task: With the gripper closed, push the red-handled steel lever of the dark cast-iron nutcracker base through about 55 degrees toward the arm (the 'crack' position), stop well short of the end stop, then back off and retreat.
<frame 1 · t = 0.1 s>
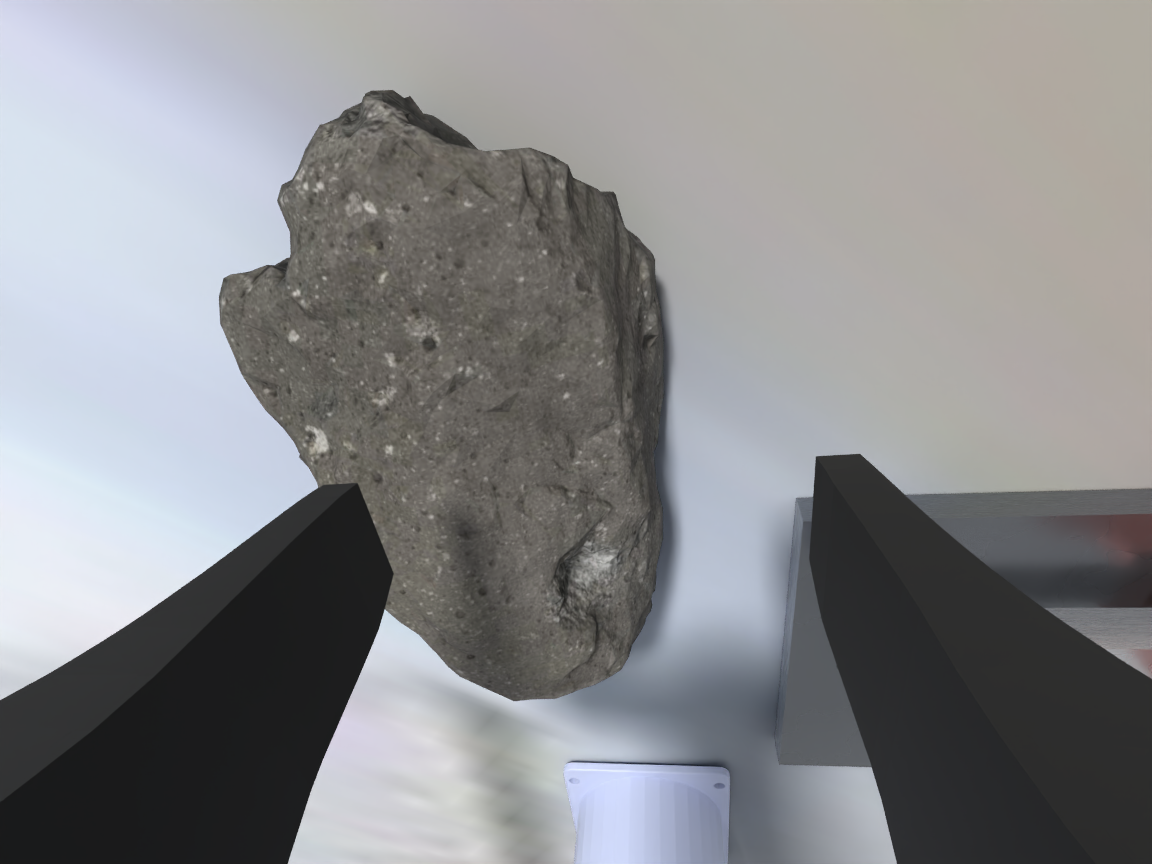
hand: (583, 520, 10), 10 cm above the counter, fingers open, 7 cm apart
stone: (547, 380, 21), on the counter
cracker base: (972, 636, 25), on the counter
lever: (1098, 684, 20), point 4 cm above the counter, hinge at 0.0°
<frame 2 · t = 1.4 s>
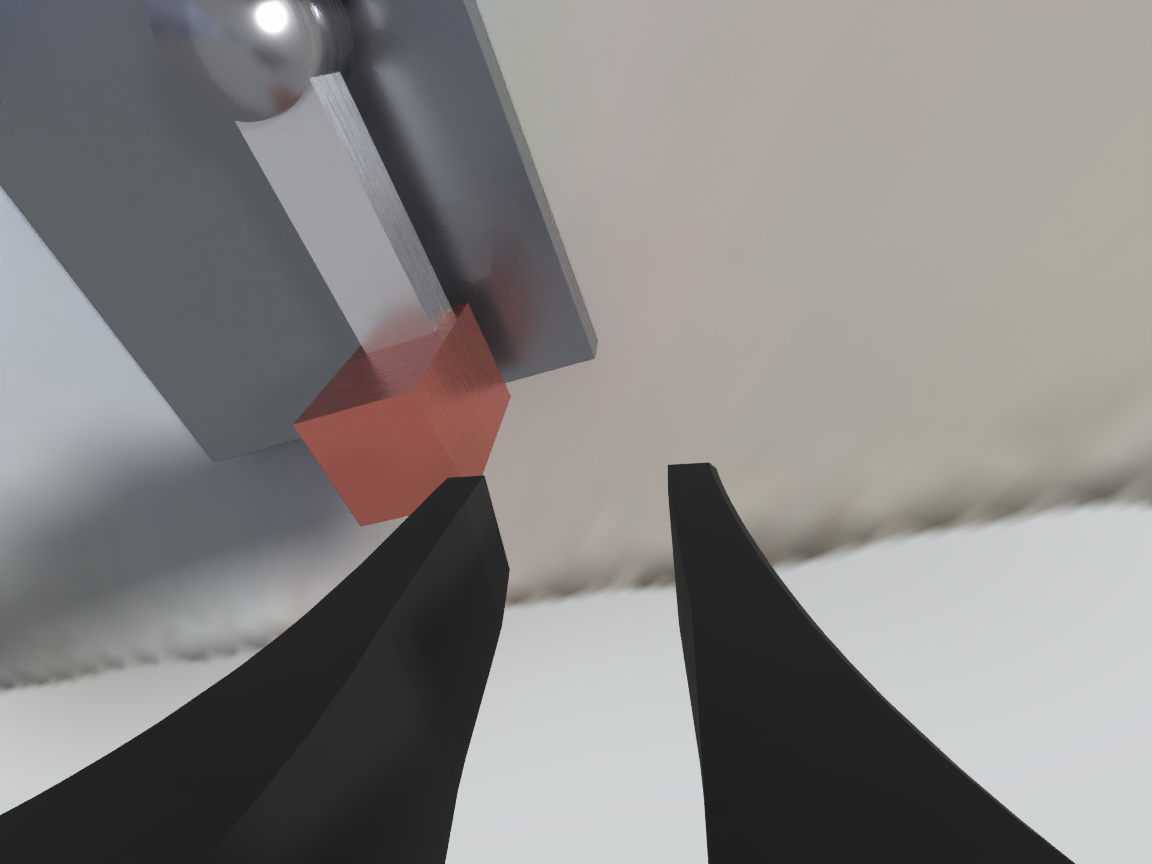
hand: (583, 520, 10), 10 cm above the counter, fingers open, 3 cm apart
cracker base: (285, 189, 18), on the counter
lever: (336, 245, 15), point 4 cm above the counter, hinge at 0.0°
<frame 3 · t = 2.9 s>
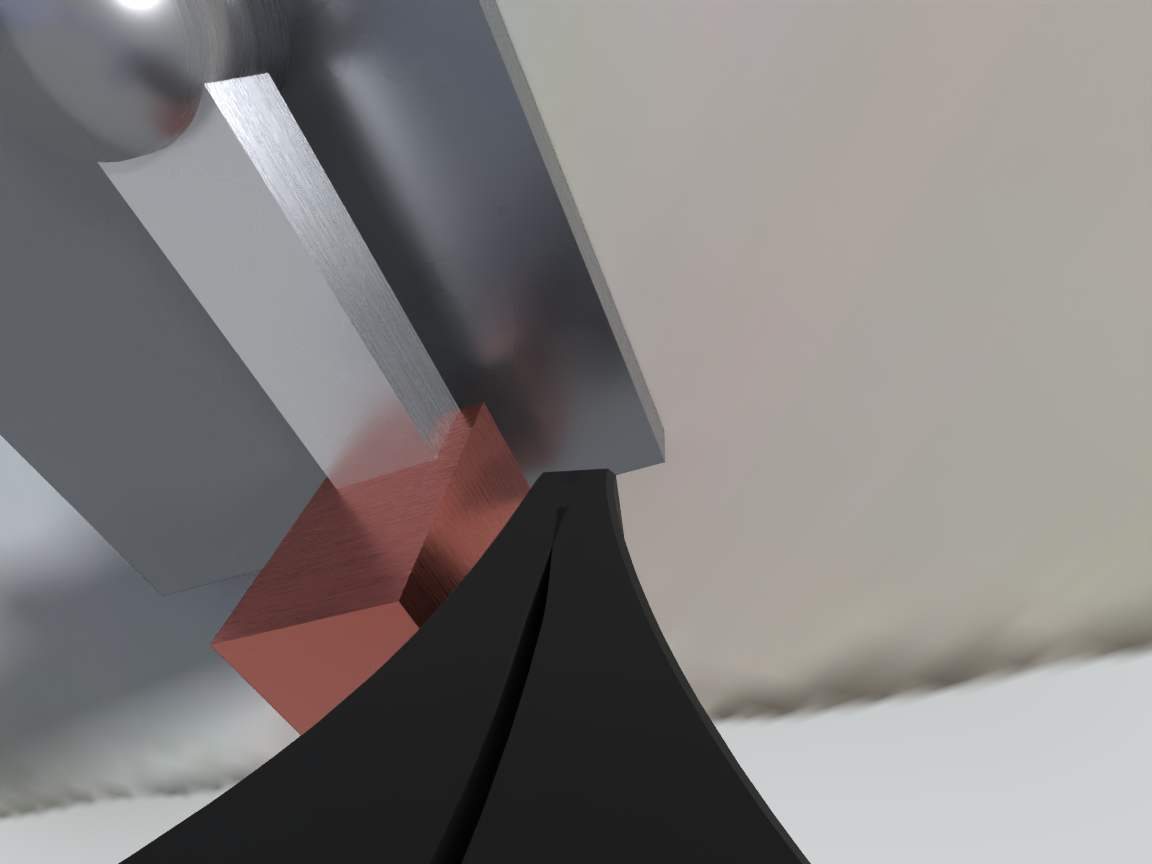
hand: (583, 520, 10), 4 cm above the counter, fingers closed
cracker base: (221, 247, 13), on the counter
lever: (273, 347, 9), point 4 cm above the counter, hinge at 0.0°, touching gripper
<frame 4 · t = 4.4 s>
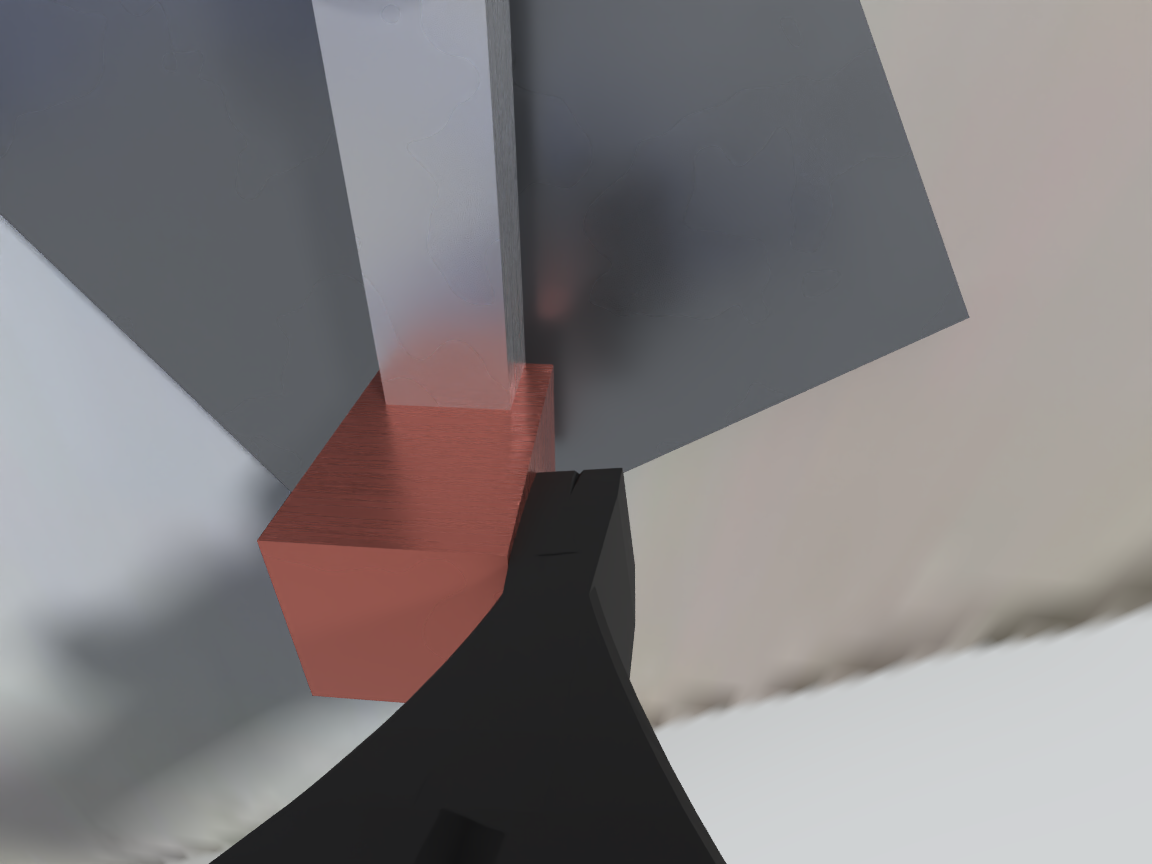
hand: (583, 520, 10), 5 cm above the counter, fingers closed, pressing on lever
cracker base: (433, 165, 12), on the counter
lever: (415, 244, 8), point 4 cm above the counter, hinge at 32.7°, touching gripper
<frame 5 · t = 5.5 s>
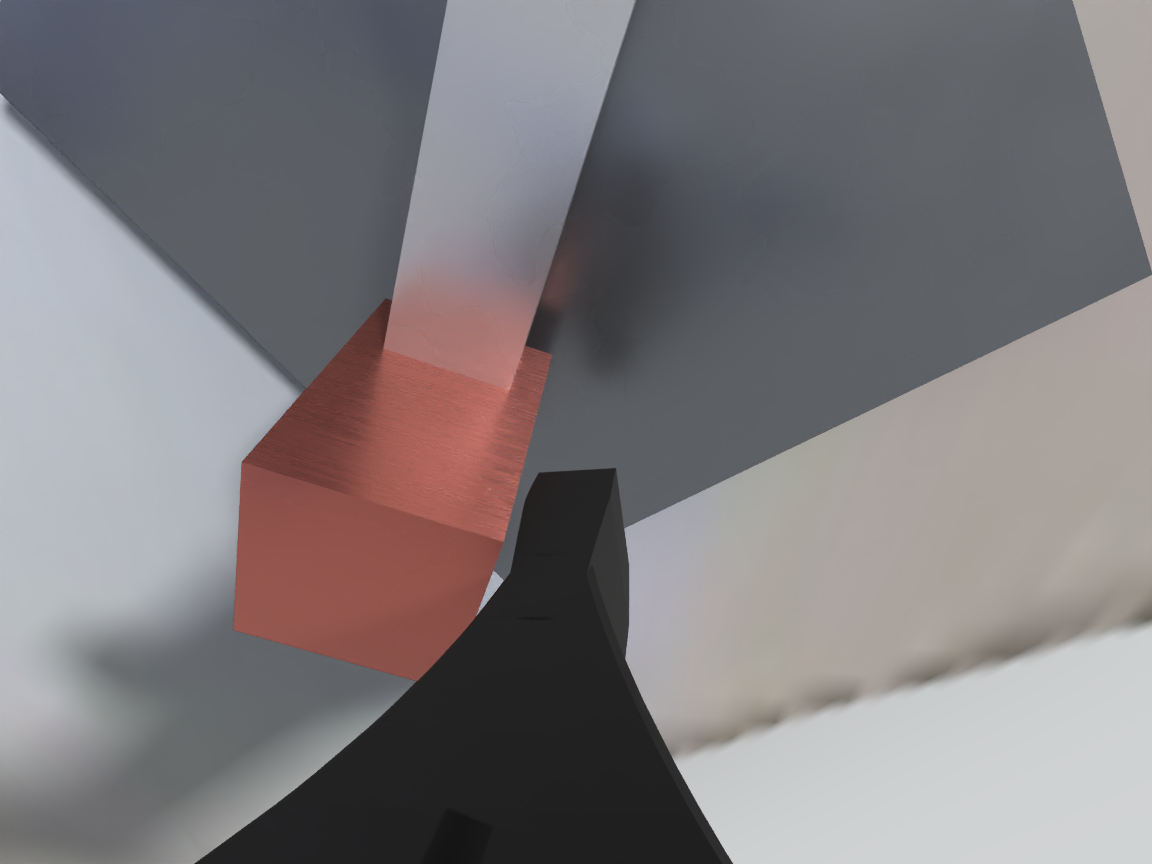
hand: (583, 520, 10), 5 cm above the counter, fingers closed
cracker base: (571, 153, 12), on the counter
lever: (483, 204, 8), point 4 cm above the counter, hinge at 54.7°, touching gripper
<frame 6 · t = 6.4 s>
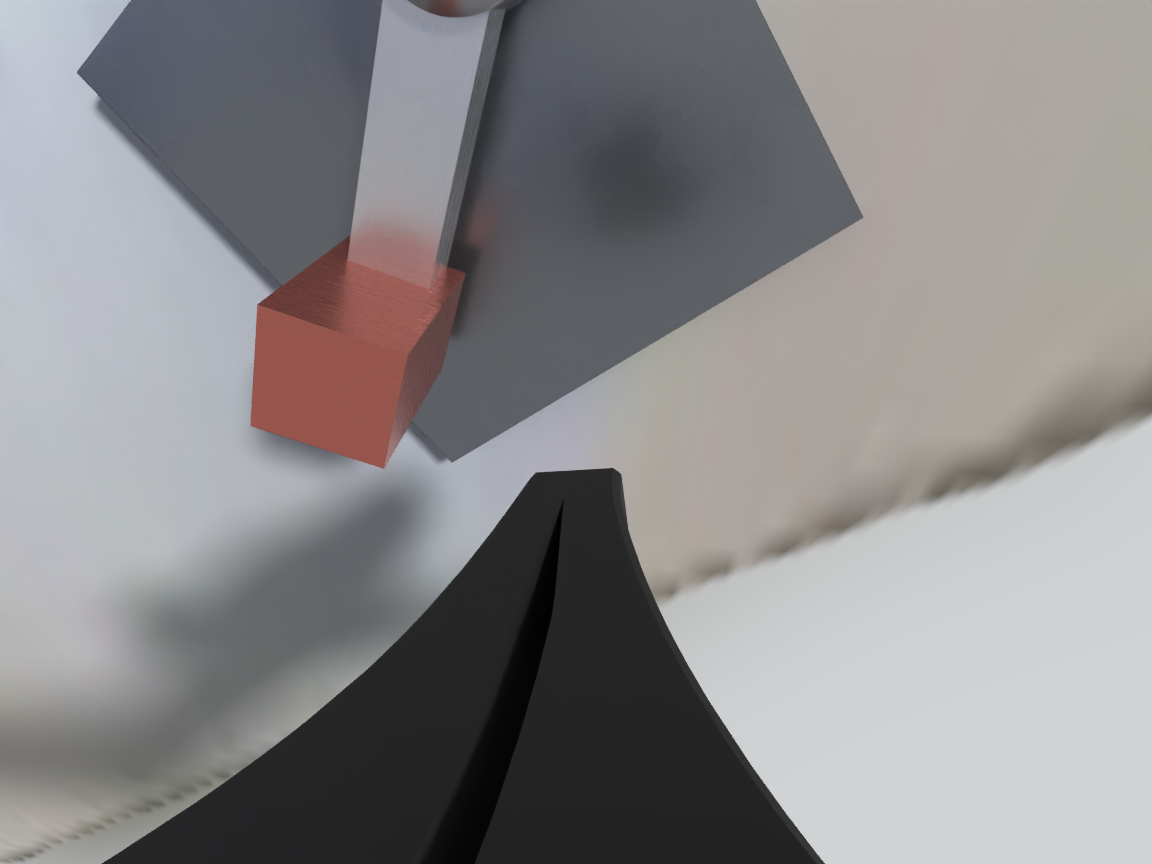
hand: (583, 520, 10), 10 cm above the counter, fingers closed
cracker base: (481, 137, 17), on the counter
lever: (401, 162, 13), point 4 cm above the counter, hinge at 54.8°
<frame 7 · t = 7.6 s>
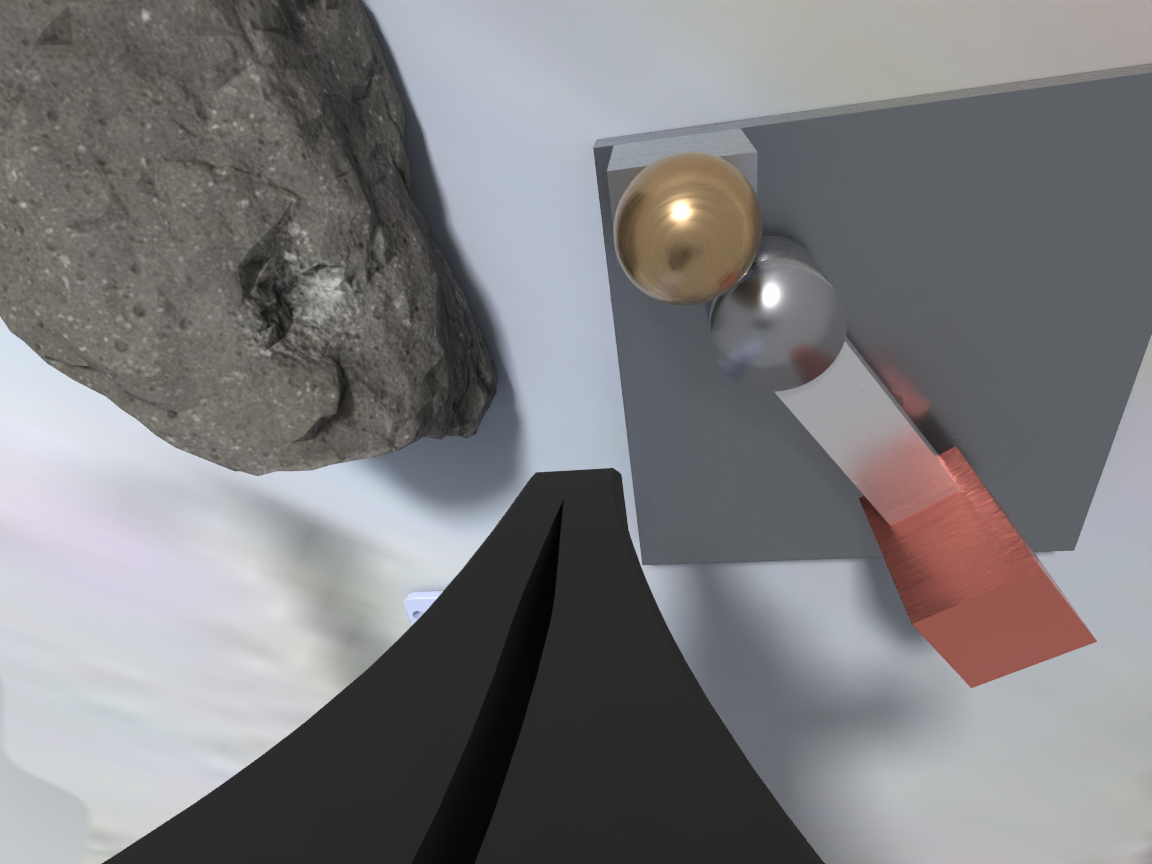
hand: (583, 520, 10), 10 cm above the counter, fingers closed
stone: (296, 142, 18), on the counter
cracker base: (856, 358, 20), on the counter
lever: (877, 454, 16), point 4 cm above the counter, hinge at 54.8°
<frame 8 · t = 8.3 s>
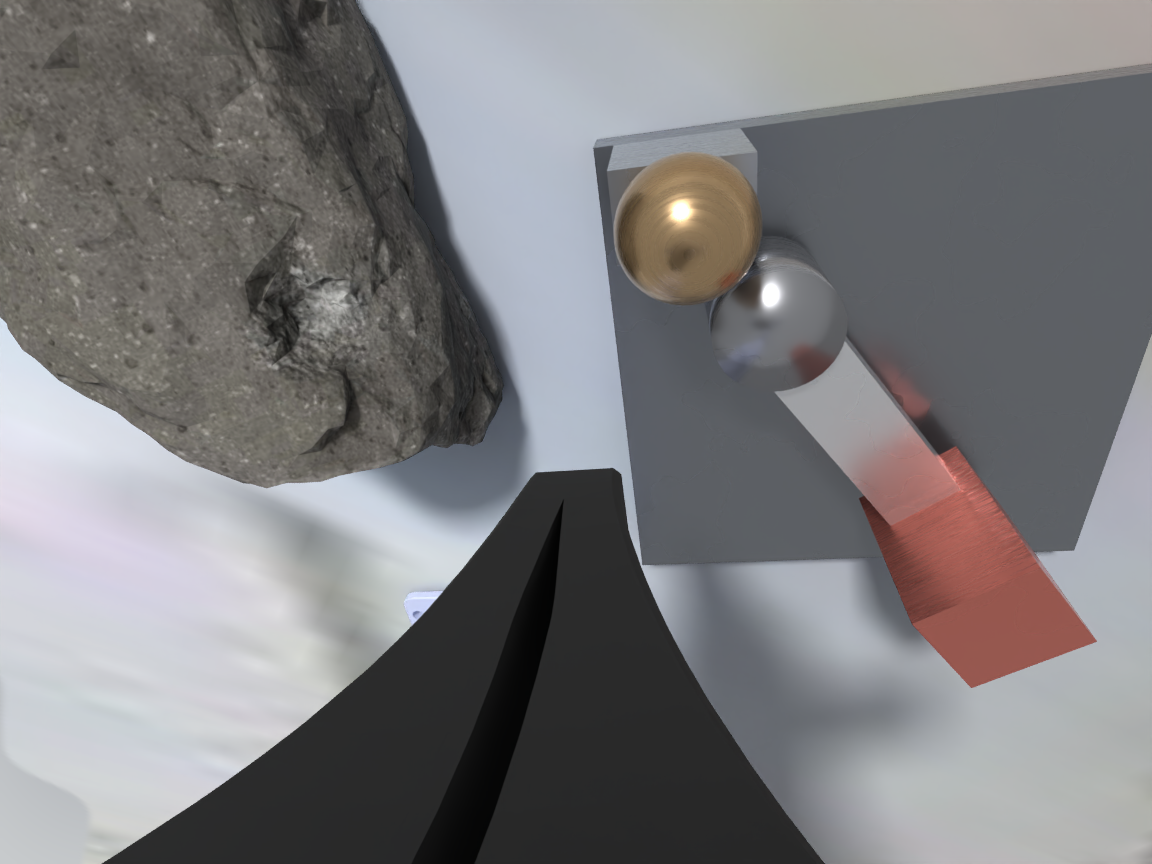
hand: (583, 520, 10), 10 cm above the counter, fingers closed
stone: (300, 155, 18), on the counter
cracker base: (856, 358, 20), on the counter
lever: (877, 454, 16), point 4 cm above the counter, hinge at 54.8°
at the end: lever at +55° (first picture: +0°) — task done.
